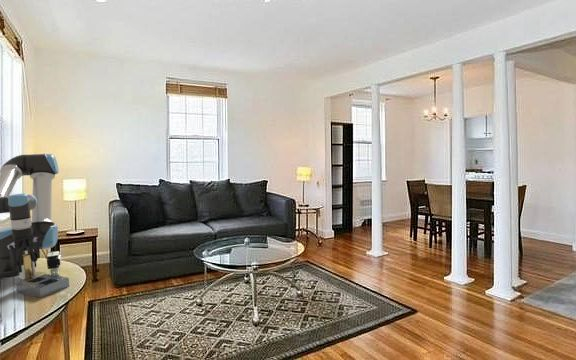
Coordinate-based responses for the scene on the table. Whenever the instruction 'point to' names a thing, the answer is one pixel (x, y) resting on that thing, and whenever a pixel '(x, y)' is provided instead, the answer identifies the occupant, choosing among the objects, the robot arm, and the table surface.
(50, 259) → the pneumatic valve
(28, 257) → the tan rectangular block
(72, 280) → the table surface
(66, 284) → the jig
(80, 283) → the table surface
